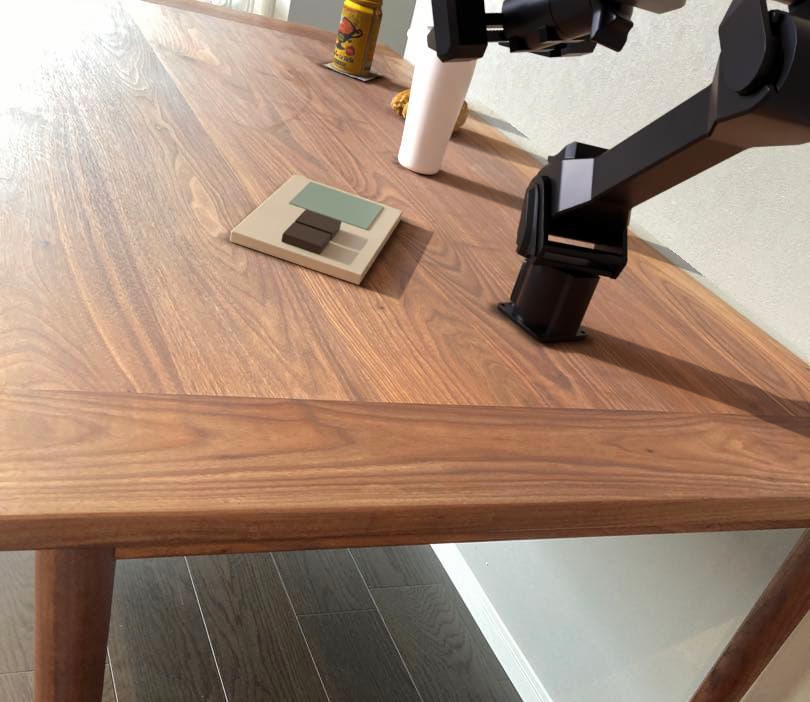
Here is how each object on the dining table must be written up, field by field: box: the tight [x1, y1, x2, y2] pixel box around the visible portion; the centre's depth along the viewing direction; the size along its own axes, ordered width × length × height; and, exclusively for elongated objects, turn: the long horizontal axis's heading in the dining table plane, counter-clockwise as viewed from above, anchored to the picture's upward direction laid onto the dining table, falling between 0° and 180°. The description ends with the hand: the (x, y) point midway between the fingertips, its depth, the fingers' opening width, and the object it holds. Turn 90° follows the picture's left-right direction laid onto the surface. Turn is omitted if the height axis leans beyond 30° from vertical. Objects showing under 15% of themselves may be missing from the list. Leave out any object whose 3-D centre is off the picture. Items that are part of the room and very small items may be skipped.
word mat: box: [229, 173, 404, 286], centre depth 88 cm, size 20×12×2 cm, turn 169°
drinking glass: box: [397, 25, 478, 176], centre depth 109 cm, size 7×7×15 cm
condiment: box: [321, 0, 384, 82], centre depth 141 cm, size 7×8×12 cm
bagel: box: [390, 87, 469, 133], centre depth 130 cm, size 10×11×5 cm
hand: (464, 40), depth 94 cm, fingers open, 9 cm apart
